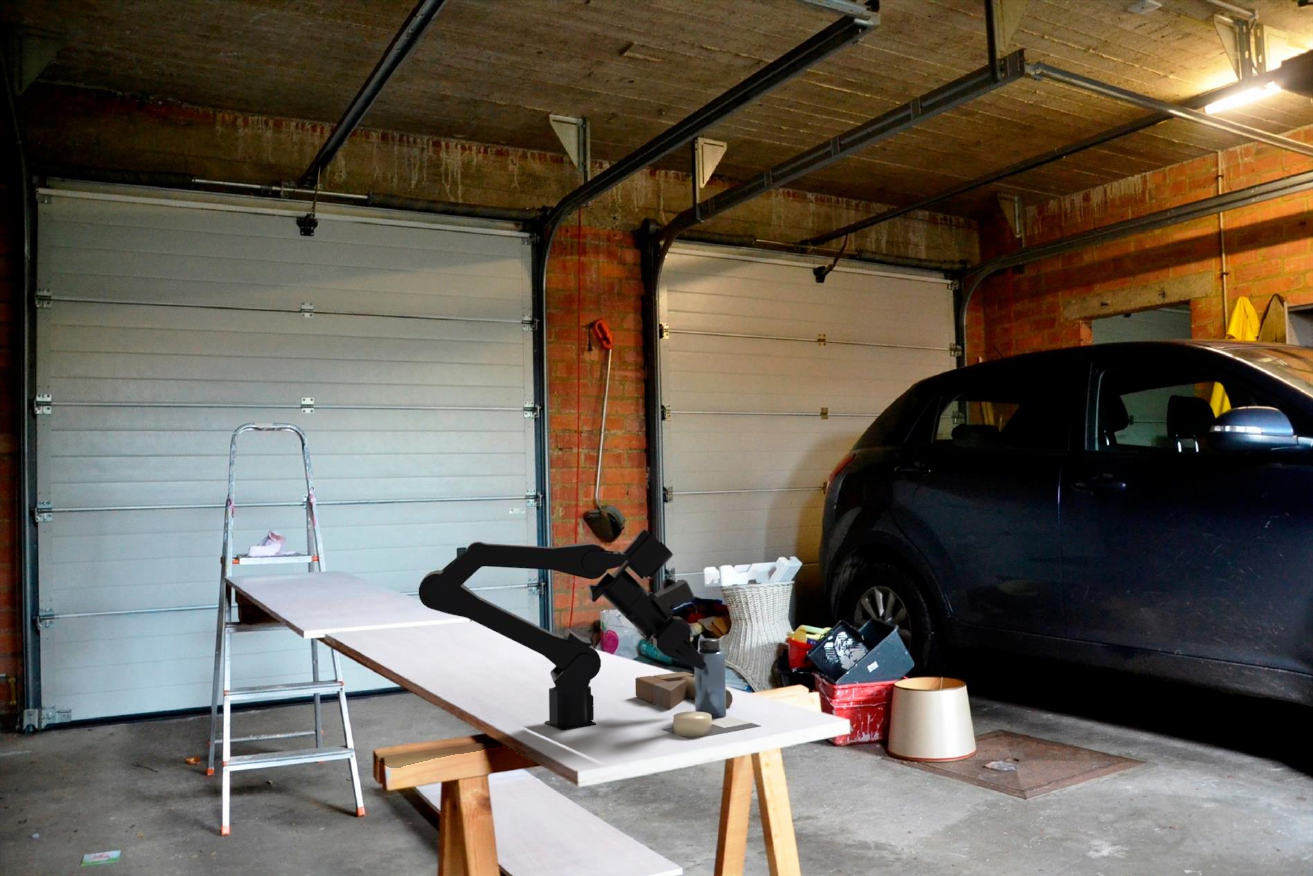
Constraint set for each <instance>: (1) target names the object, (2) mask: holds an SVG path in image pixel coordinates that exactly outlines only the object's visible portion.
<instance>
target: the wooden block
mask: <svg viewBox="0 0 1313 876" xmlns="http://www.w3.org/2000/svg"><path fill="white" fill-rule="evenodd" d="M635 697H637V698H640V699H642V700H644V701H646V702H648V703H651V704H653V705H656V706H657V705H659V706H661V707H663V708H666V709H668V710H672V709H674V708H675V707H677V706H678V705H680V704H681V703H683V702H684V701H687V699H688V698H690V699H693V700H695V674H694V673H690V672H688V671H681V672H680V671H678V672H673V673H672V672H671V673H663V674H655V675H647V676H640V677H639V676H638V677H636V678H635ZM733 699H734V698H733V695H732V693H731V691H730V690H728V689H727V688H726V709H727V708H730V707H731V706H732V703H733Z"/></svg>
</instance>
